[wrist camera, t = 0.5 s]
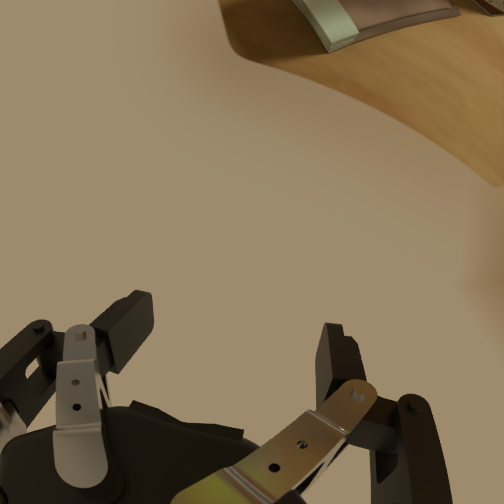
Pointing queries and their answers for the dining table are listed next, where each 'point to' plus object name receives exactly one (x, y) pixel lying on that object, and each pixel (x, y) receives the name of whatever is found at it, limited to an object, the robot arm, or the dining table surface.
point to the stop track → (368, 18)
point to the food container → (491, 6)
